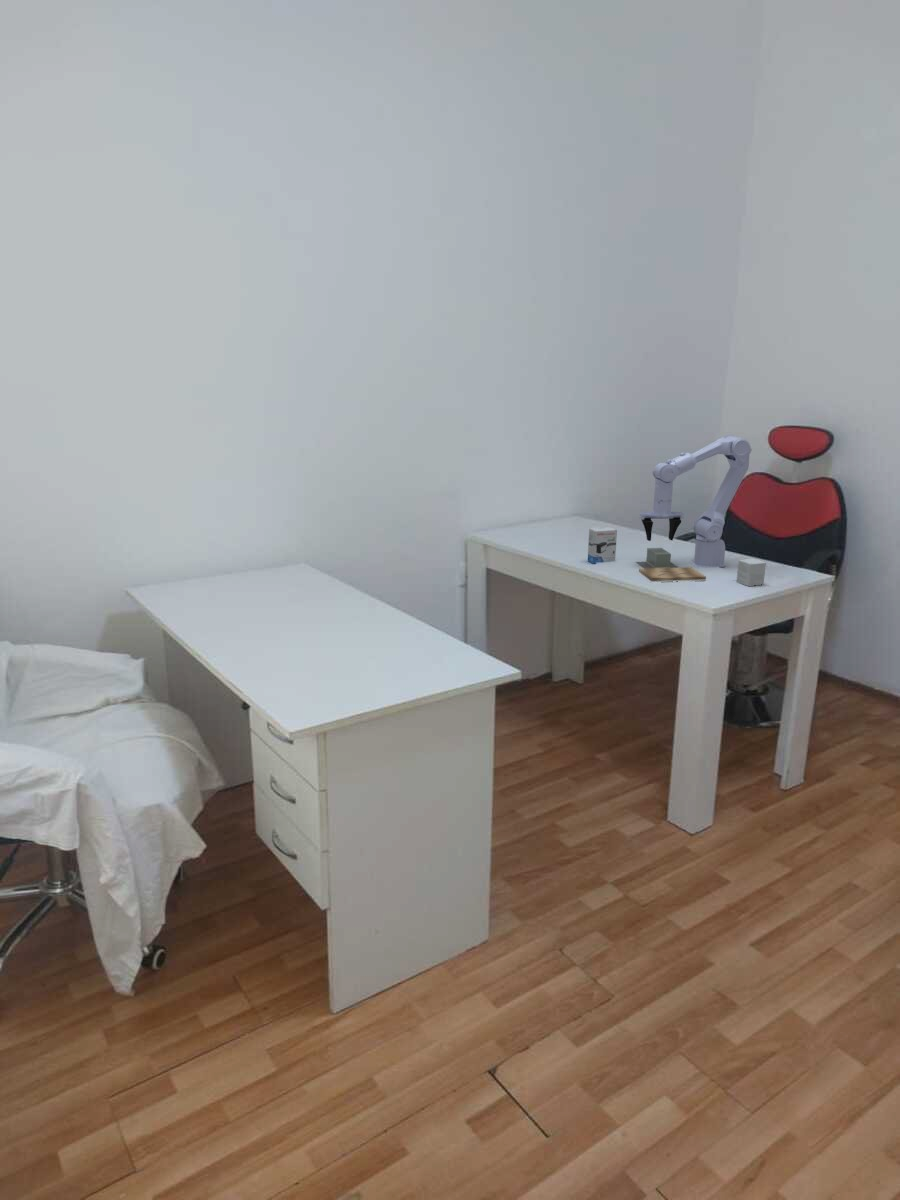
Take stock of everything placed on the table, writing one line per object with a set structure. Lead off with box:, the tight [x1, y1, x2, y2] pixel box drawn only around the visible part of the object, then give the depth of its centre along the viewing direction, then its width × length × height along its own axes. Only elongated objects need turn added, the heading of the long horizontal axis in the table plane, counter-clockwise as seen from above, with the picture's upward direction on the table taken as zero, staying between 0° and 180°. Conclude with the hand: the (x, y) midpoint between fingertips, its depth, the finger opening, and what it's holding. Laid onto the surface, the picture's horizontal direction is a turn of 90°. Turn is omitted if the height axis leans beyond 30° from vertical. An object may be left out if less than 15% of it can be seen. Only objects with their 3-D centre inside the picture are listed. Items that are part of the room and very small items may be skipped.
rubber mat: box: [635, 561, 680, 569], centre depth 298 cm, size 12×11×1 cm
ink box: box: [587, 526, 618, 565], centre depth 303 cm, size 8×5×12 cm, turn 105°
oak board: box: [638, 566, 707, 583], centre depth 285 cm, size 18×12×2 cm, turn 97°
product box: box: [736, 557, 767, 587], centre depth 278 cm, size 6×6×7 cm
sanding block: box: [645, 547, 672, 568], centre depth 297 cm, size 5×9×5 cm, turn 7°
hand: (659, 539), depth 295 cm, fingers open, 7 cm apart
